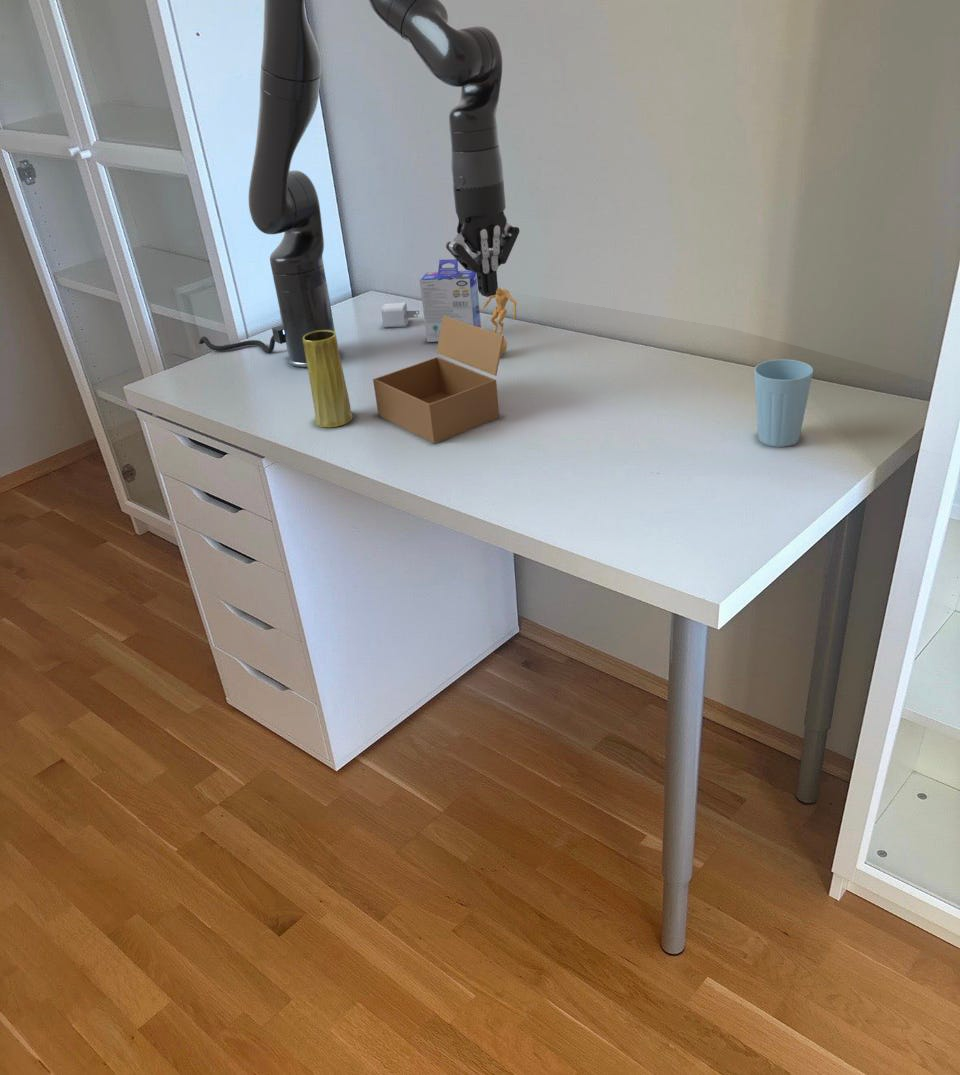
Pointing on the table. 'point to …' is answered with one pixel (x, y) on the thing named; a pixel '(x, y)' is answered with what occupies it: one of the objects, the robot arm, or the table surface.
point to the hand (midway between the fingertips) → (488, 295)
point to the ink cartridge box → (449, 298)
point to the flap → (470, 345)
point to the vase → (326, 379)
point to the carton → (436, 399)
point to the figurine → (501, 311)
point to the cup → (781, 400)
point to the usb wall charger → (396, 315)
